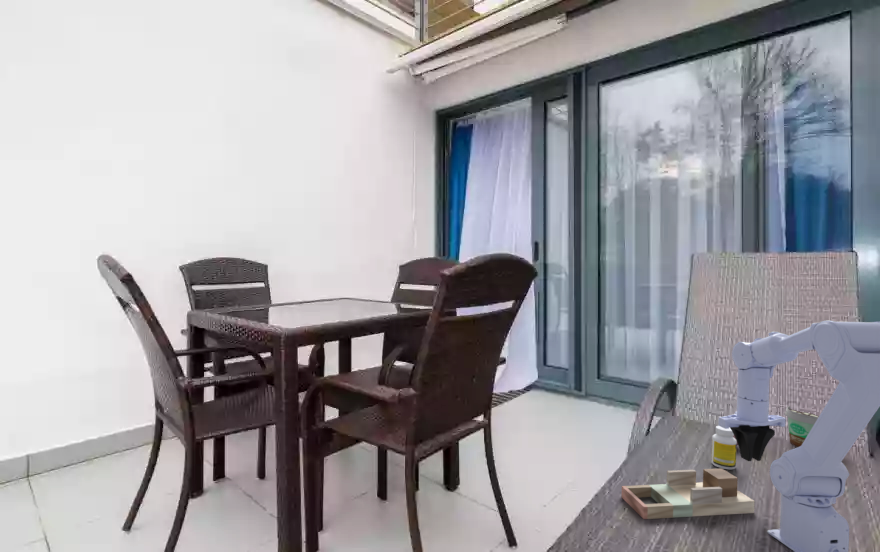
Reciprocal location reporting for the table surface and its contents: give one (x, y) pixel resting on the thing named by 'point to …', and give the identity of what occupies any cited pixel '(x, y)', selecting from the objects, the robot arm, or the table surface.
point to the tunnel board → (683, 498)
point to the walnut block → (721, 481)
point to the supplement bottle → (724, 449)
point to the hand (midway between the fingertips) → (750, 459)
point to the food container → (799, 425)
